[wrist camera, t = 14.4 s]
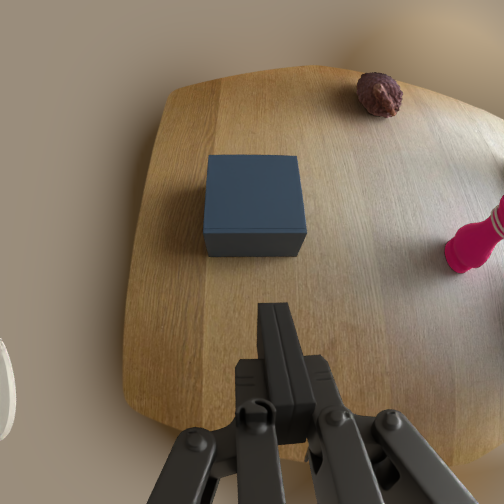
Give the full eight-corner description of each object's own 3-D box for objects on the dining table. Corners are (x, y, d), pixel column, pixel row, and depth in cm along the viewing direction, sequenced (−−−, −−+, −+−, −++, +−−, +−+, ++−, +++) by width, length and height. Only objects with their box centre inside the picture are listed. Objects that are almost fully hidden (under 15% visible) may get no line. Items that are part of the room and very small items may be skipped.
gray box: (307, 233, 34) (296, 155, 39) (202, 233, 33) (208, 154, 38) (296, 256, 40) (289, 185, 45) (208, 257, 40) (212, 184, 45)
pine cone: (337, 82, 58) (363, 54, 52) (366, 105, 63) (390, 79, 56) (362, 111, 47) (395, 76, 41) (393, 139, 52) (425, 108, 45)
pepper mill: (476, 268, 41) (552, 215, 22) (453, 282, 40) (538, 226, 21) (459, 233, 43) (527, 170, 25) (435, 244, 42) (510, 175, 24)
